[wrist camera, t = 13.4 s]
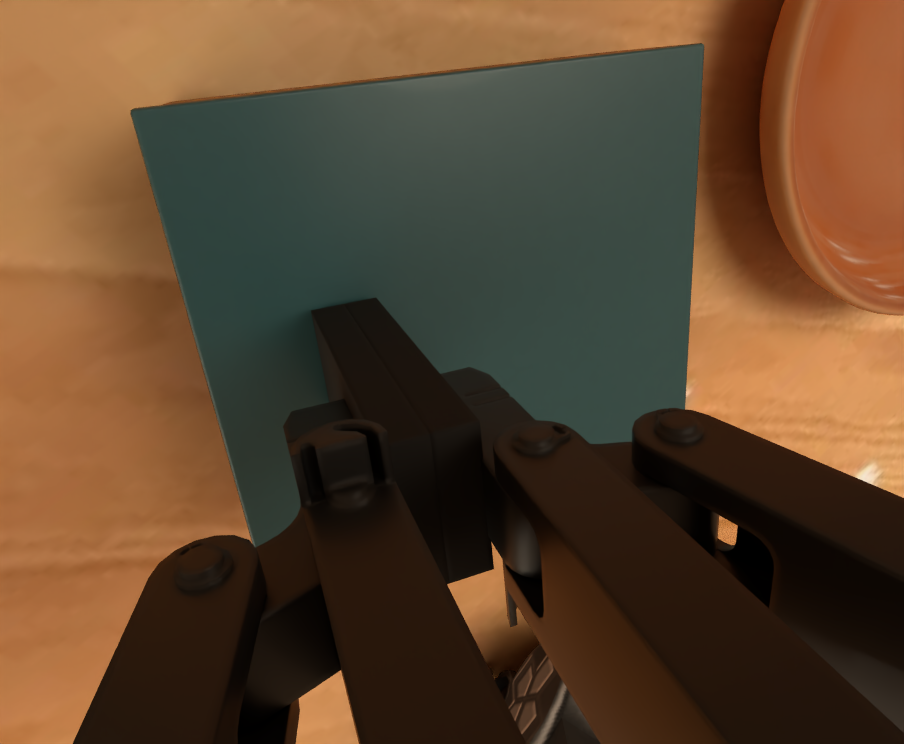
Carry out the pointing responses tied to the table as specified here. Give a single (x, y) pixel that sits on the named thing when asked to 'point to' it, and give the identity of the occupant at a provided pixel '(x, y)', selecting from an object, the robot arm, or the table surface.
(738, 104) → the table surface
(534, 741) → the game controller
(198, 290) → the box lid
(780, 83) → the saucer
